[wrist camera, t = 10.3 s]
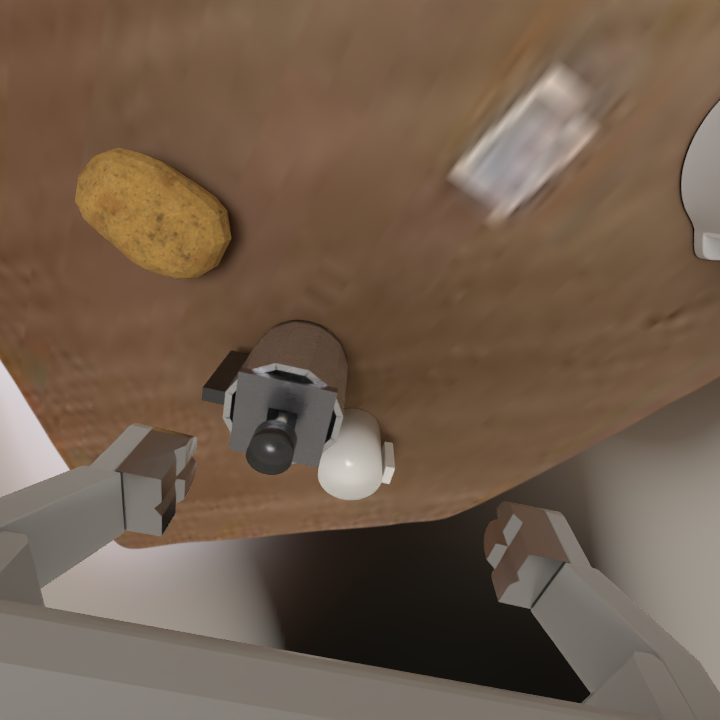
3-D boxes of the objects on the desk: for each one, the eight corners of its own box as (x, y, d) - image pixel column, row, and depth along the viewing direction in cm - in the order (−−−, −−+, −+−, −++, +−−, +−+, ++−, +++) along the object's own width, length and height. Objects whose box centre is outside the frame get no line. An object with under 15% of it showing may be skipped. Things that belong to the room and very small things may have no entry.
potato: (209, 289, 41) (181, 310, 35) (94, 212, 38) (40, 219, 31) (254, 217, 38) (231, 226, 31) (131, 125, 34) (79, 114, 28)
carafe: (356, 332, 43) (352, 384, 32) (336, 409, 47) (327, 478, 37) (240, 305, 42) (197, 350, 31) (231, 387, 46) (191, 451, 35)
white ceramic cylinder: (396, 417, 48) (401, 460, 40) (381, 459, 51) (384, 507, 43) (331, 403, 47) (324, 444, 40) (320, 447, 50) (312, 493, 43)
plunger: (339, 347, 42) (326, 428, 28) (325, 404, 45) (308, 500, 32) (270, 331, 41) (224, 406, 28) (261, 390, 44) (216, 483, 31)
